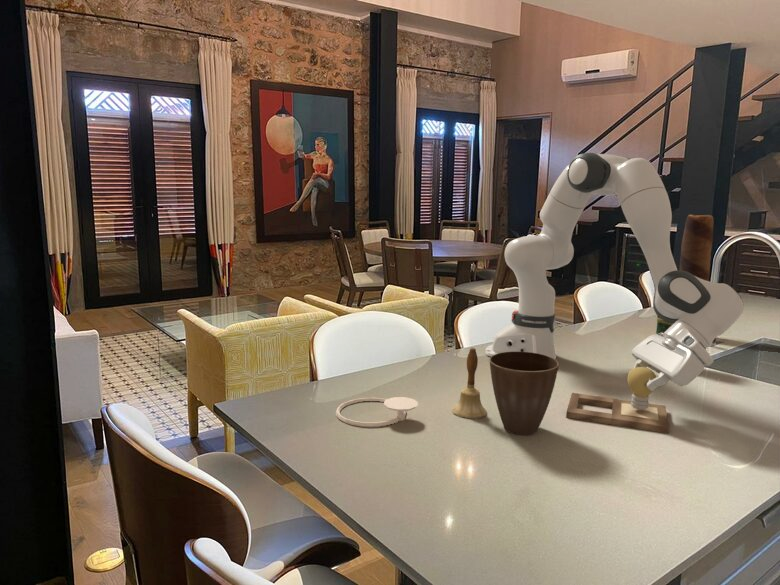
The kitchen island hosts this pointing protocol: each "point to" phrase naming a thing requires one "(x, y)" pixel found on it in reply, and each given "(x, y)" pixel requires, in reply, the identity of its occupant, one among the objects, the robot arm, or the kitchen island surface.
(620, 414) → the socket board
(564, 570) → the kitchen island surface
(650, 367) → the robot arm
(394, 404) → the hand towel holder
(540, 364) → the plant pot
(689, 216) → the wafer roll
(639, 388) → the light bulb
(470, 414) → the hand bell
